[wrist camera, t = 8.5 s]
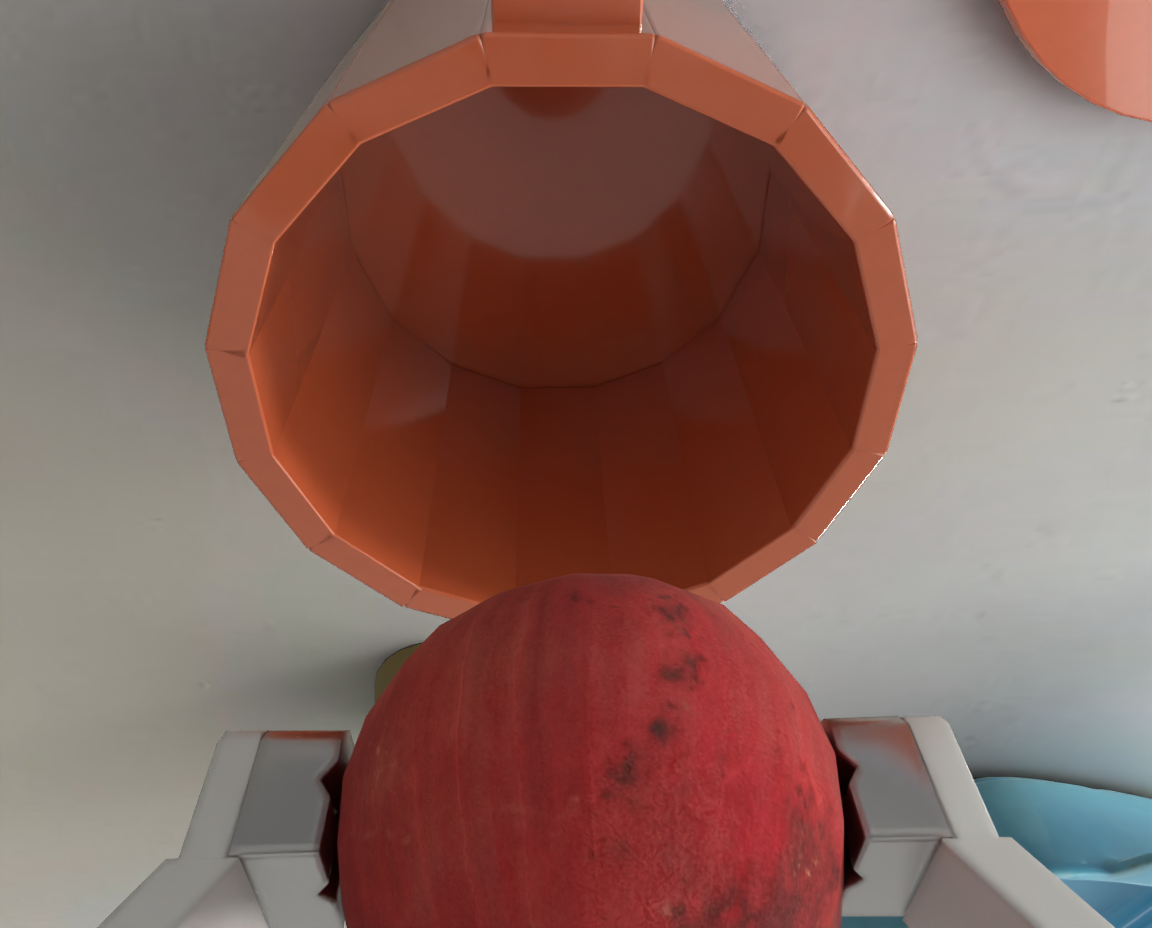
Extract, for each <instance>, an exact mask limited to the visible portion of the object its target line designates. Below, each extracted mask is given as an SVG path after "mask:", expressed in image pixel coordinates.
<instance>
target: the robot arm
mask: <svg viewBox="0 0 1152 928" xmlns="http://www.w3.org/2000/svg"><path fill="white" fill-rule="evenodd" d="M820 723H821V725H822V727H823V729H824V731H825V733H826V735H827V737H828V740H829V742H830V744H831V746H832V748H833V750H834V752H835V756H836V764H837V772H838V780H839V788H840V795H841V803H842V811H843V819H844V885H843V902H842V916H904V918H903V921H904V922H905V924H906V925H907V926H908V927H909V928H1115V927H1114V926H1113V925H1111V924H1110V923H1109V922H1108V921H1107V920H1106V919H1105V918H1103V917H1102V916H1101V915H1100V914H1099V913H1098V912H1097V911H1095V910H1094V909H1093V908H1092V907H1091V906H1090V905H1088V904H1087V903H1086V902H1085V901H1084V900H1083V899H1082V898H1080V897H1079V896H1078V895H1077V894H1076V893H1075V892H1074V891H1072V890H1071V889H1070V888H1069V887H1068V886H1067V885H1065V884H1064V883H1063V882H1062V881H1061V880H1060V879H1059V878H1057V877H1056V876H1055V875H1054V874H1053V873H1052V872H1051V871H1049V870H1048V869H1047V868H1046V867H1045V866H1044V865H1043V864H1041V863H1040V862H1039V861H1038V860H1037V859H1036V858H1034V857H1033V856H1032V855H1031V854H1030V853H1029V852H1028V851H1026V850H1025V849H1024V848H1023V847H1022V846H1021V845H1020V844H1018V843H1017V842H1016V841H1015V840H1014V839H1013V838H1011V837H999V836H998V833H997V831H996V829H995V827H994V824H993V822H992V820H991V818H990V815H989V813H988V811H987V809H986V806H985V804H984V802H983V800H982V797H981V795H980V793H979V791H978V788H977V786H976V784H975V782H974V779H973V777H972V775H971V773H970V770H969V768H968V766H967V764H966V761H965V759H964V757H963V754H962V752H961V750H960V748H959V745H958V743H957V741H956V739H955V736H954V734H953V732H952V730H951V727H950V725H949V724H948V723H947V722H946V721H945V720H944V719H943V718H942V717H939V716H919V717H898V716H885V717H859V718H833V719H823V720H822V721H821V722H820ZM353 750H354V743H353V739H352V736H351V732H350V730H313V731H268V730H263V731H225V733H224V734H223V736H222V737H221V739H220V740H219V742H218V743H217V745H216V748H215V751H214V754H213V757H212V760H211V763H210V766H209V769H208V772H207V775H206V778H205V781H204V784H203V787H202V790H201V792H200V795H199V798H198V801H197V804H196V807H195V810H194V813H193V816H192V819H191V822H190V825H189V828H188V831H187V834H186V837H185V840H184V843H183V846H182V849H181V852H180V855H179V858H178V859H166V860H165V861H164V862H163V863H162V864H161V865H160V866H159V867H158V868H157V869H156V870H155V871H154V872H153V873H152V874H151V875H150V876H149V877H148V878H147V879H146V880H145V881H144V882H143V883H142V884H141V885H140V886H139V887H138V888H136V889H135V890H134V891H133V892H132V893H131V894H130V895H129V896H128V897H127V898H126V899H125V900H124V901H123V902H122V903H121V904H120V905H119V906H118V907H117V908H116V909H115V910H114V911H113V912H112V913H111V914H110V915H109V916H108V917H107V918H106V919H105V920H104V921H103V922H102V923H101V924H100V925H99V926H98V927H97V928H344V922H345V917H344V913H343V908H342V904H341V891H340V877H339V862H338V848H337V841H338V829H339V818H340V806H341V794H342V783H343V776H344V773H345V771H346V768H347V766H348V763H349V760H350V758H351V755H352V752H353Z"/></svg>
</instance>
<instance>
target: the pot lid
mask: <svg viewBox="0 0 1152 928" xmlns="http://www.w3.org/2000/svg"><path fill="white" fill-rule="evenodd" d="M999 3H1000V5H1001V7H1002V9H1003V11H1004V13H1005V15H1006V17H1007V19H1008V21H1009V23H1010V25H1011V27H1012V29H1013V31H1014V33H1015V34H1016V36H1017V37H1018V38H1019V40H1020V41H1021V42H1022V44H1023V45H1024V46H1025V48H1026V49H1027V51H1028V52H1029V53H1030V55H1031V56H1032V57H1033V59H1034V60H1035V61H1036V62H1037V63H1038V64H1039V65H1040V66H1042V67H1043V68H1044V69H1045V70H1046V71H1047V72H1048V73H1049V74H1050V75H1051V76H1052V77H1053V78H1054V79H1055V80H1056V81H1058V82H1059V83H1061V84H1062V85H1064V86H1065V87H1067V88H1068V89H1070V90H1072V91H1073V92H1075V93H1076V94H1078V95H1079V96H1081V97H1082V98H1084V99H1086V100H1087V101H1089V102H1091V103H1093V104H1095V105H1098V106H1100V107H1103V108H1105V109H1107V110H1110V111H1112V112H1115V113H1117V114H1119V115H1123V116H1127V117H1132V118H1136V119H1140V120H1145V121H1149V122H1152V0H999Z"/></svg>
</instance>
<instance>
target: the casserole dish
mask: <svg viewBox="0 0 1152 928" xmlns="http://www.w3.org/2000/svg"><path fill="white" fill-rule="evenodd" d="M974 782H975V784H976V786H977V788H978V791H979V793H980V795H981V797H982V800H983V802H984V804H985V806H986V809H987V811H988V813H989V815H990V818H991V820H992V822H993V824H994V827H995V829H996V831H997V833H998V836H999V837H1011V838H1013V839H1014V840H1015V841H1016V842H1017V843H1018V844H1020V845H1021V846H1022V847H1023V848H1024V849H1025V850H1026V851H1028V852H1029V853H1030V854H1031V855H1032V856H1033V857H1034V858H1036V859H1037V860H1038V861H1039V862H1040V863H1041V864H1043V865H1044V866H1045V867H1046V868H1047V869H1048V870H1049V871H1051V872H1052V873H1053V874H1054V875H1055V876H1056V877H1057V878H1059V879H1060V880H1061V881H1062V882H1063V883H1064V884H1065V885H1067V886H1068V887H1069V888H1070V889H1071V890H1072V891H1074V892H1075V893H1076V894H1077V895H1078V896H1079V897H1080V898H1082V899H1083V900H1084V901H1085V902H1086V903H1087V904H1088V905H1090V906H1091V907H1092V908H1093V909H1094V910H1095V911H1097V912H1098V913H1099V914H1100V915H1101V916H1102V917H1103V918H1105V919H1106V920H1107V921H1108V922H1109V923H1110V924H1111V925H1113V926H1114V927H1115V928H1152V799H1150V798H1145V797H1141V796H1136V795H1131V794H1126V793H1121V792H1116V791H1111V790H1104V789H1098V790H1097V789H1091V788H1087V787H1084V786H1079V785H1072V784H1066V783H1059V782H1053V781H1046V780H1039V779H1030V778H1019V777H984V778H978V779H974ZM903 918H904V916H842V919H841V928H909V927H908V926H907V925H906V924H905V922H904V921H903Z"/></svg>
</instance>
